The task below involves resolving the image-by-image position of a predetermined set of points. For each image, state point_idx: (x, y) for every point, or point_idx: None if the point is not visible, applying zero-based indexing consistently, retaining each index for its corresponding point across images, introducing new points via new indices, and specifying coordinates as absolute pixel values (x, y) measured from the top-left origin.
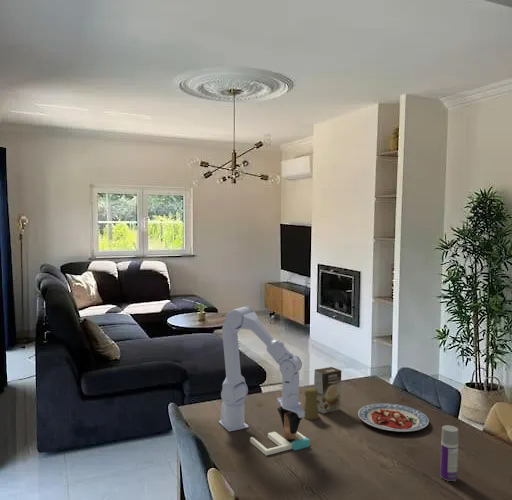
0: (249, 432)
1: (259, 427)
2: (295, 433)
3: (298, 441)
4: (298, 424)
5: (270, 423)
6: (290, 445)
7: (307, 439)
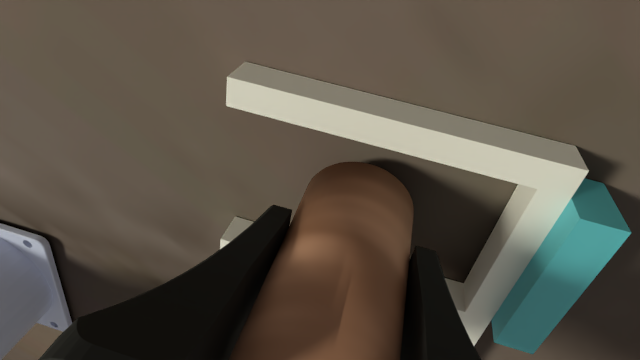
0: (114, 274)
1: (63, 189)
2: (405, 220)
3: (545, 320)
4: (464, 339)
5: (13, 77)
6: (483, 324)
7: (610, 249)
